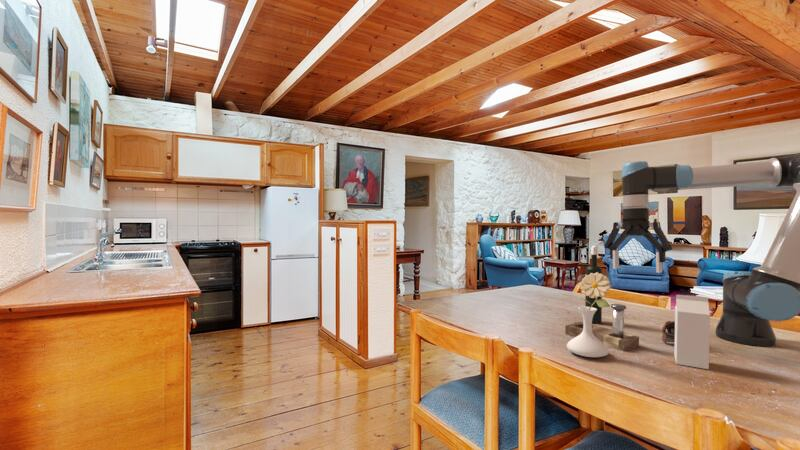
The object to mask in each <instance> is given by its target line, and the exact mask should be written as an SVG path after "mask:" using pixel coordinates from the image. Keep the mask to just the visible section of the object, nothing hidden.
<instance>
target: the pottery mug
mask: <svg viewBox="0 0 800 450" xmlns="http://www.w3.org/2000/svg"><path fill="white" fill-rule="evenodd" d="M661 329H662V332H661V333H662V336H661V341H662V342H663V344H664V345H666V344H667V343H675V320H674V321H672V320H670V321H669V320H667V321H666V322H665V323H664V325H663V327H662V328H661Z"/></svg>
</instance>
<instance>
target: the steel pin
mask: <svg viewBox="0 0 800 450" xmlns="http://www.w3.org/2000/svg"><path fill="white" fill-rule="evenodd" d="M610 307H611V309H612V329H611V330H612V336H613V337H617V338H621V339H624V333H625V310H627V305H625V304H621V303H611V304H610Z"/></svg>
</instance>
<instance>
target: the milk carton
mask: <svg viewBox="0 0 800 450" xmlns="http://www.w3.org/2000/svg"><path fill="white" fill-rule="evenodd" d="M675 297H676V299H675V304H674V308H675V309H674V321H675V342H674V345H673V346H674V348H673V350H674V351H673V352H674V360H675V363H676V364H677V365H681V366H687V367H692V368H698V369H699V368H700V369H704V370H709V369H710V327H711V324H710V322H711V320H710V319H711V317H710V316H711V313H710V305H709V297H708V296H707V297H705V296H697V295H695V296H694V295H687V294H686V295H684V294H676V295H675Z"/></svg>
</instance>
